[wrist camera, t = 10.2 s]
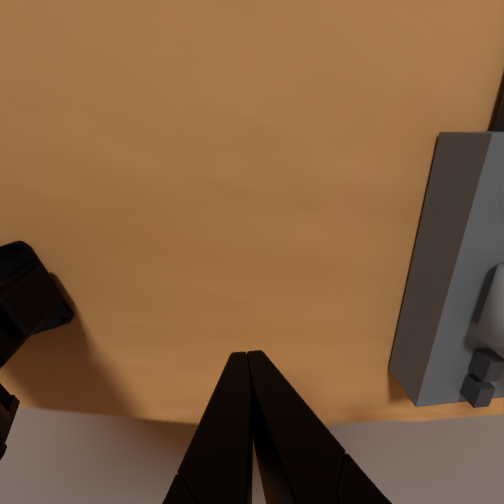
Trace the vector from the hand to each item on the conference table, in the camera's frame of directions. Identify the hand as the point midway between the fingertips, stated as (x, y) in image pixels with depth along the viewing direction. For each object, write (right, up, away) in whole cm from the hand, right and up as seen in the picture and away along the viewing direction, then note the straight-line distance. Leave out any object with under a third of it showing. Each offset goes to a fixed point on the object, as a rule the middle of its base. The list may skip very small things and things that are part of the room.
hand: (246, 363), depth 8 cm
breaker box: (+16, +5, +14) cm, 22 cm away
